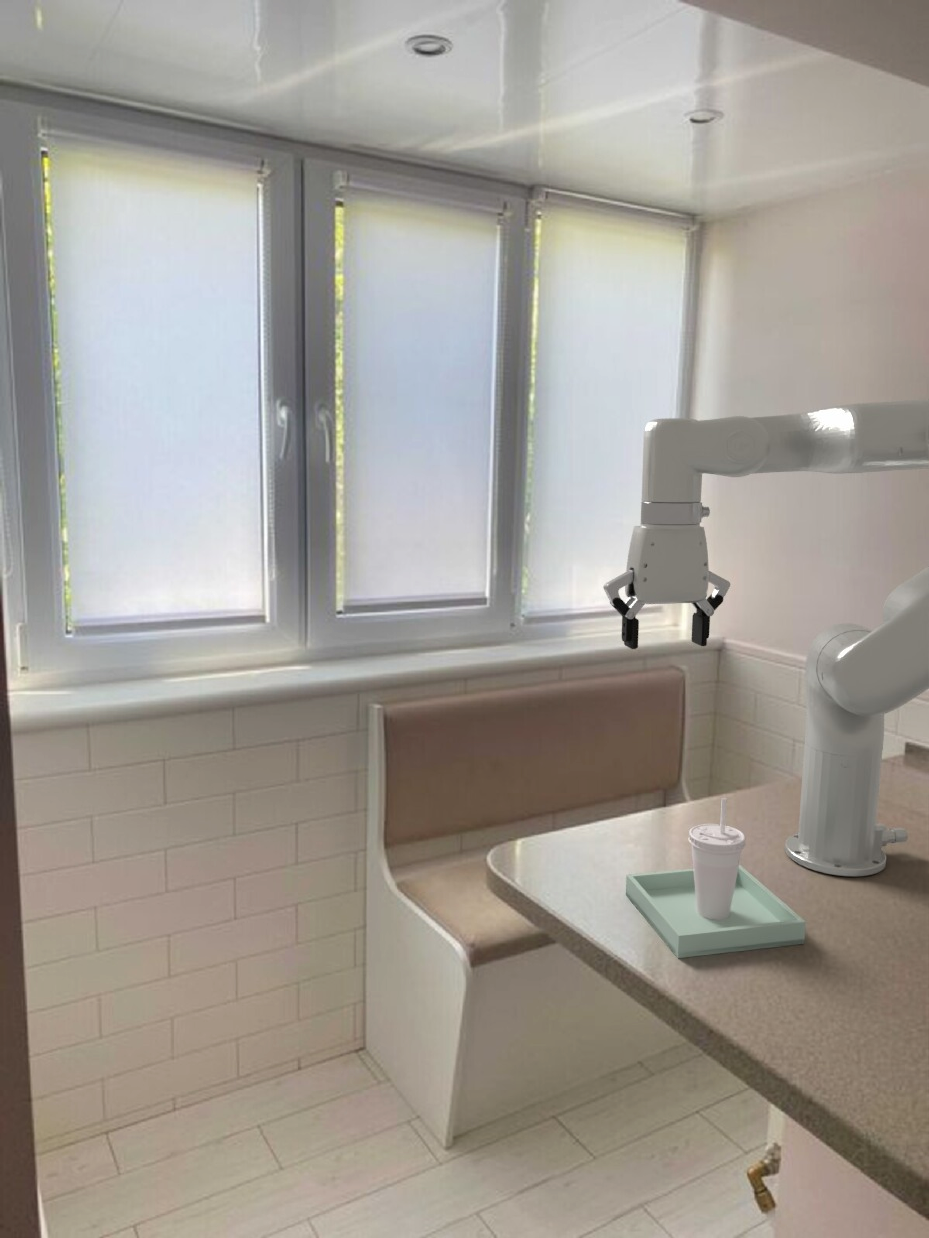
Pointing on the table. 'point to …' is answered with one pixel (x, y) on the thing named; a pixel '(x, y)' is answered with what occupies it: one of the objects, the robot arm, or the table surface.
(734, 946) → the tray
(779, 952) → the table surface
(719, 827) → the smoothie
